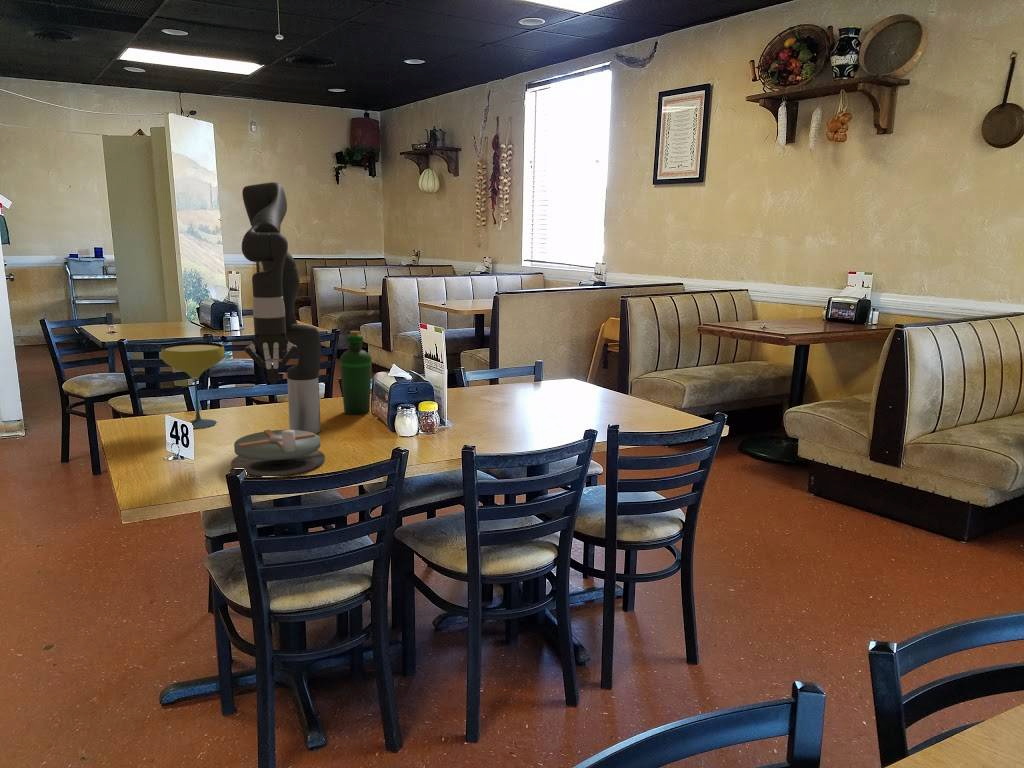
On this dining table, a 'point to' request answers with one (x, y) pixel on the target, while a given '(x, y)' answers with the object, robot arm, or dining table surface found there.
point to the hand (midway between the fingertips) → (273, 382)
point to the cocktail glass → (194, 366)
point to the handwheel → (277, 445)
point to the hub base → (280, 465)
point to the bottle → (356, 376)
